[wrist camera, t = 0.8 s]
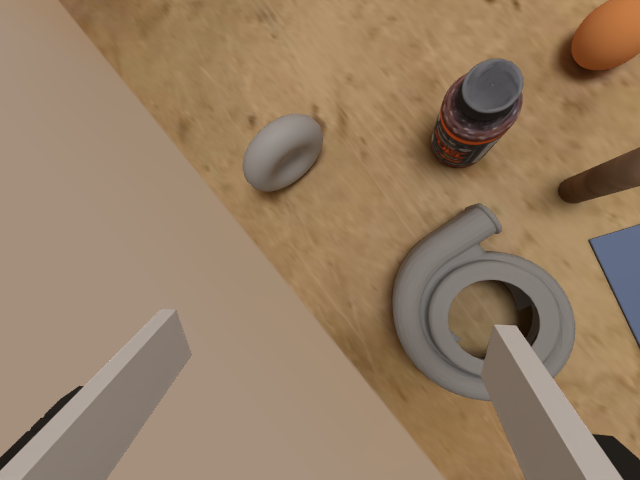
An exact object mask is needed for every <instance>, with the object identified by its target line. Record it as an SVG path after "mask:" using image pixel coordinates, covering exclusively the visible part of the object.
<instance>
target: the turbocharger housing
mask: <svg viewBox="0 0 640 480" xmlns="http://www.w3.org/2000/svg"><path fill="white" fill-rule="evenodd" d="M501 231H502V227H501V224H500V223H499V221H498V219H497V217H496V216H495V215H494V214H493V213H492V211H490V210H489V209H488V208H487V207H486V206H484V205H482V204H480V203H478V204H474V205H471V206H468V207H466V208H465V211H464V212H462V213H461V214H459V215H458V216H456V217H455V218H453V219H452V220H450V221H449V222H447V223H446V224H444V225H442V226H441V227H439V228H438V229H436V230H435V231H433V232H432V233H430V234H429V235H427V236H426V237H424V238H423V239H422V240H421V241H419V242H418V243H417V244H416V245H415V246H414V247H413V248H412V249H411V251H410V252H409V253H408V254H407V256H406V257H405V259H404V260H403V262H402V264H401V266H400V268H399V270H398V273H397V275H396V278H395V282H394V287H393V296H392V305H393V318H394V324H395V329H396V332H397V335H398V338H399V340H400V343H401V345H402V347H403V349H404V350H405V352H406V354H407V355H408V357H409V358H410V359H411V361H412V362H413V363H414V364H415V365H416V367H417V368H418V369H419V370H420V371H421V372H422V373H423V374H424V375H426V376H427V377H428V378H429V379H430V380H432V381H433V382H435V383H436V384H438V385H439V386H441V387H443V388H444V389H446V390H448V391H450V392H453V393H455V394H458V395H461V396H464V397H467V398H471V399H477V400H485V401H491V399H490V396H489V394H488V392H487V390H486V387H485V385H484V383H483V380H482V378H481V372H482V368H483V364H484V360H485V358H477V357H474V356H472V355H470V354H469V353H467V352H466V351H464V350H463V349H462V348H461V347H460V346H459V345H458V344H457V343H456V341H458V340H460V339H461V338H459V337H457V336H456V335H454V334H453V333H452V332H451V331H450V330H449V326H448V311H449V308H450V305H451V303H452V300H453V299H454V298H455V296H456V295H457V294H458V293H459V292H460V291H461V290H462V289H463V288H465V287H467V286H468V285H470V284H472V283H475V282H477V281H483V280H501V281H502V282H503V283H504V284H505V285H506V286H507V287H508V288H509V289H510V290H511V292H512V294H513V296H514V298H515V300H516V306H517V311H519V310H522V309H524V308H526V307H529V306H531V307H532V310H533V321H532V325H531V329H530V331H529V334H528V335H527V337H526V338H525V339H526V341H527V342H528V343H529V345H530V346H531V348H532V349H533V351H534V352H535V353H536V355H537V356H538V358H539V359H540V361H541V362H542V364H543V365H544V366H545V368H546V369H547V371H548V372H549V374H550V375H551V376H552V378H554V377H555V376H556V375H557V374H558V373H559V372H560V371H561V370H562V368H563V367H564V365H565V364H566V362H567V360H568V358H569V356H570V353H571V351H572V348H573V344H574V339H575V320H574V315H573V310H572V307H571V304H570V302H569V300H568V298H567V296H566V294H565V292H564V291H563V289H562V288H561V286H560V285H559V284H558V283H557V281H556V280H555V279H554V278H553V277H552V276H551V275H550V274H549V273H547V272H546V271H545V270H544V269H542V268H541V267H539V266H538V265H536V264H535V263H533V262H531V261H529V260H527V259H524V258H522V257H519V256H516V255H512V254H507V253H501V252H493V251H484V250H483V249H482V248H481V246H480V245H479V244H478V243H480V242H481V241H483V240H484V239H486V238H488V237H489V236H491V235H492V234H498V233H500V232H501Z"/></svg>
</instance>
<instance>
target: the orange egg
mask: <svg viewBox="0 0 640 480" xmlns="http://www.w3.org/2000/svg"><path fill="white" fill-rule="evenodd" d="M571 49H572V55H573V58H574V60H575V61H576V63H577V64H579V65H580V66H581V67H583V68H586V69H589V70H605V69H610V68H613V67H616V66H619V65H621V64H623V63H625V62H627V61H629V60H630V59H632V58H633V57H635V56H636V55H637V54H638V53H640V0H609V1H607V2H605V3H604V4H602V5H601V6H599V7H598V8H596V9H595V10H594V11H592V12H591V13H590V14H589V15H588V16H587V17H586V18H585V19H584V20H583V22H582V23H581V24H580V26H579V27H578V29H577V31H576V33H575V35H574V37H573V41H572V47H571Z"/></svg>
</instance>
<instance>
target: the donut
mask: <svg viewBox="0 0 640 480" xmlns="http://www.w3.org/2000/svg"><path fill="white" fill-rule="evenodd" d="M322 143H323V135H322V131H321V128H320V126H319V124H318V123H317V122H316V121H314V120H313V119H312V118H311V117H310V116H307V115H303V114H296V113H295V114H290V115H286V116H282V117H280V118H278V119H276V120H274V121H272V122H270V123H269V124H268V125H267V126H265V127H264V128H263V129H262V130H260V131H259V132H258V134H257V135H256V136H255V137H254V138H253V140H252V141H251V142H250V144H249V146H248V148H247V150H246V152H245V155H244V160H243V171H244V175H245V178H246V180H247V182H249V183H250V184H251V185H252V186H253V187H254V188H256V189H258V190H261V191H275V190H279V189H282V188H284V187H286V186H289V185H290V184H292V183H293V182H295V181H297V180H298V179H299V178H300V177H302V176H303V175H304V174H305V173H306V172H307V171H308V170H309V169H310V168H311V166H312V165H313V164H314V162H315V161H316V159H317V158H318V156H319V154H320V151H321V149H322Z"/></svg>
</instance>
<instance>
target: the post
mask: <svg viewBox="0 0 640 480" xmlns="http://www.w3.org/2000/svg"><path fill="white" fill-rule="evenodd" d="M638 186H640V147H639V148H637V149H635V150H632V151H630V152H628V153H626V154H623V155H621V156H619V157H616V158H614V159H612V160H609V161H607V162H605V163H602V164H600V165H598V166H596V167H593V168H591V169H589V170H586V171H584V172H582V173H579V174H577V175H575V176H572V177H570V178H568V179H566V180H564V181H563V182H562V183H561V184H560V186H559V189H558V192H559V195H560V197H561V198H562V199H563V200H564V201H566V202H569V203H579V202H583V201H586V200H590V199H594V198H597V197H601V196H605V195H608V194H612V193H616V192H619V191H623V190H627V189H630V188H634V187H638Z"/></svg>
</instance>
